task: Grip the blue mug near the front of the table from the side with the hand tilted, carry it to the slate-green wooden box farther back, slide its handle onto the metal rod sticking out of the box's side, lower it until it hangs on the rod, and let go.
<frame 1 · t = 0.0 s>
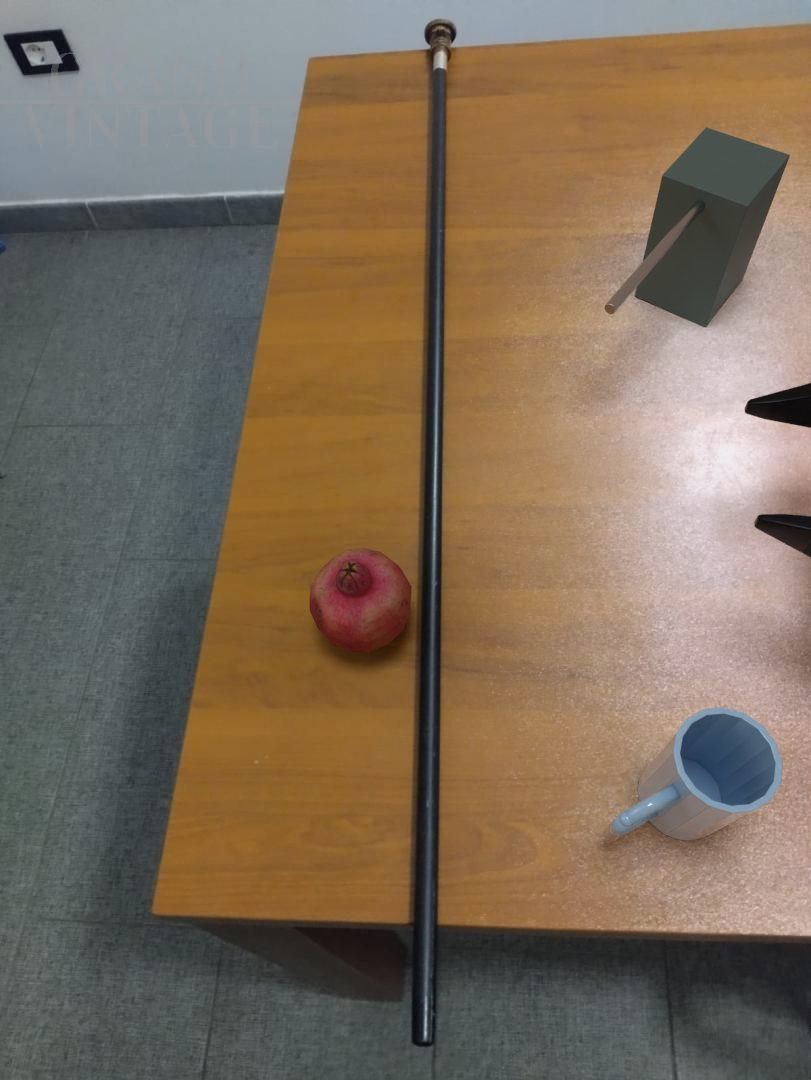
hand: (750, 461, 49), 15 cm above the table, tool horizontal, fingers open, 9 cm apart
blue mug: (680, 796, 54), on the table
box: (688, 288, 78), on the table
fruit: (368, 622, 63), on the table
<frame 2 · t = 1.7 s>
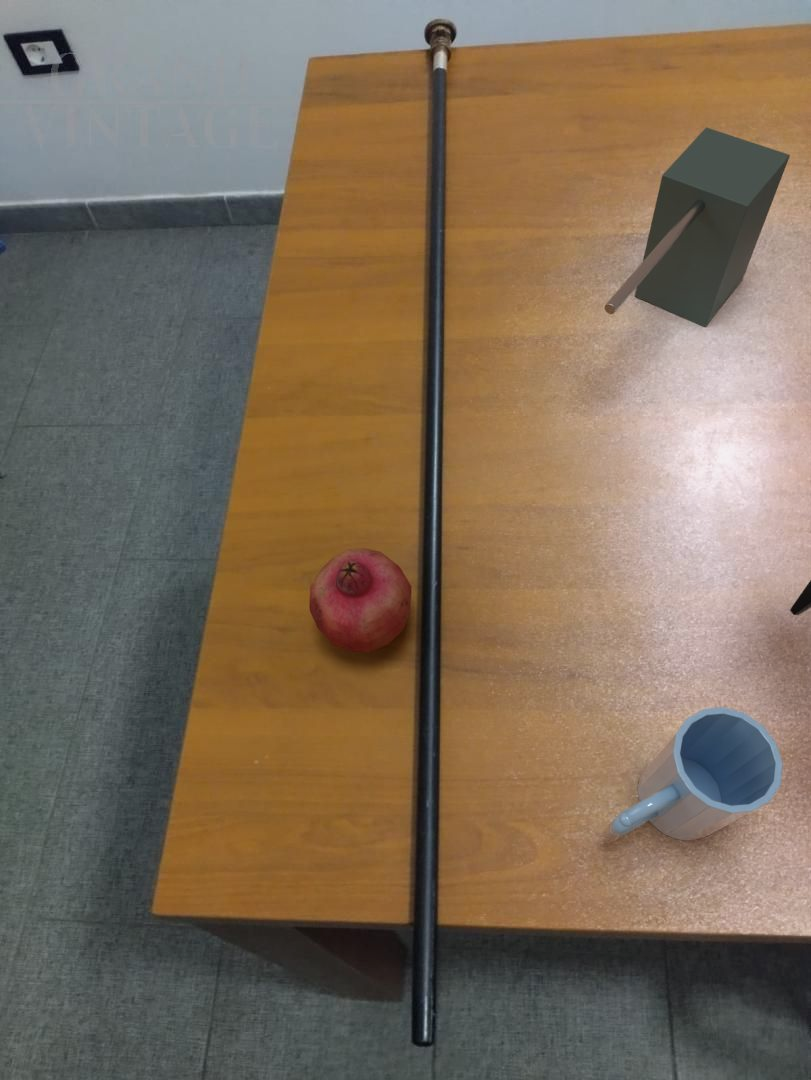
nothing on the table moved.
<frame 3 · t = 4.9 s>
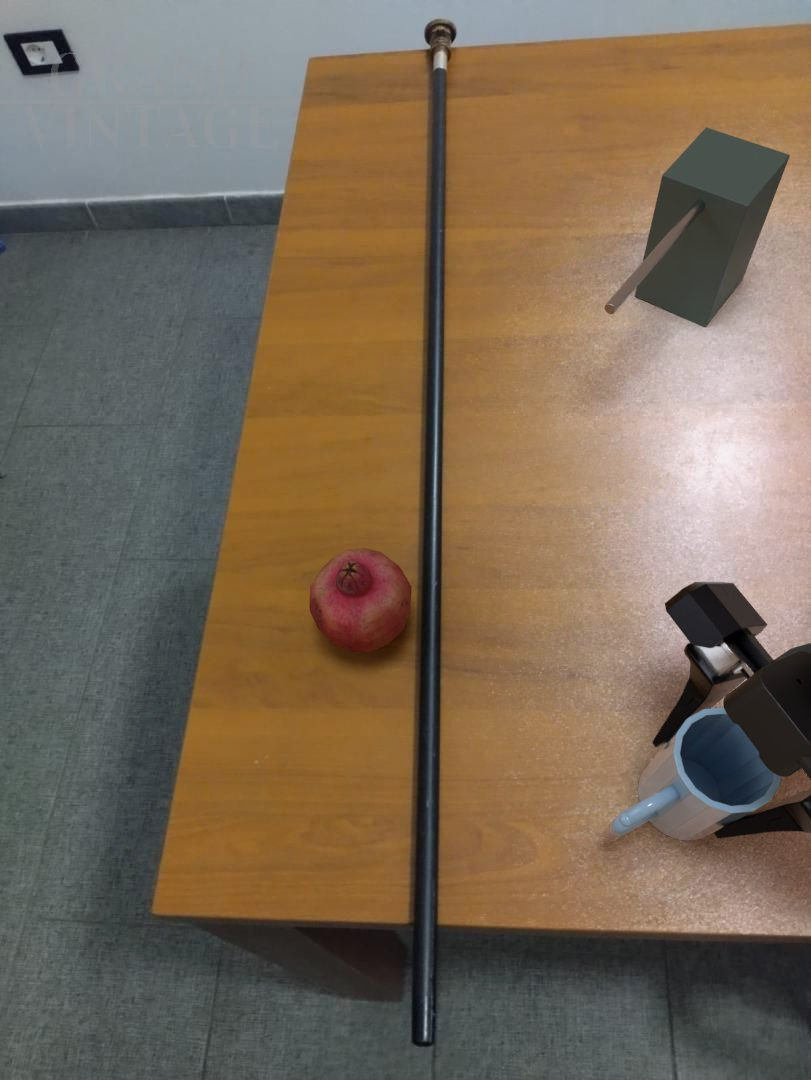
hand: (685, 787, 48), 7 cm above the table, tool tilted 45°, fingers closed on blue mug, 6 cm apart
blue mug: (680, 796, 54), on the table, touching gripper
everything else where it was.
when the fingers open (10 cm above the table, at t = 15.4 s): blue mug moves 11 cm and tips over, point 6 cm above the table.
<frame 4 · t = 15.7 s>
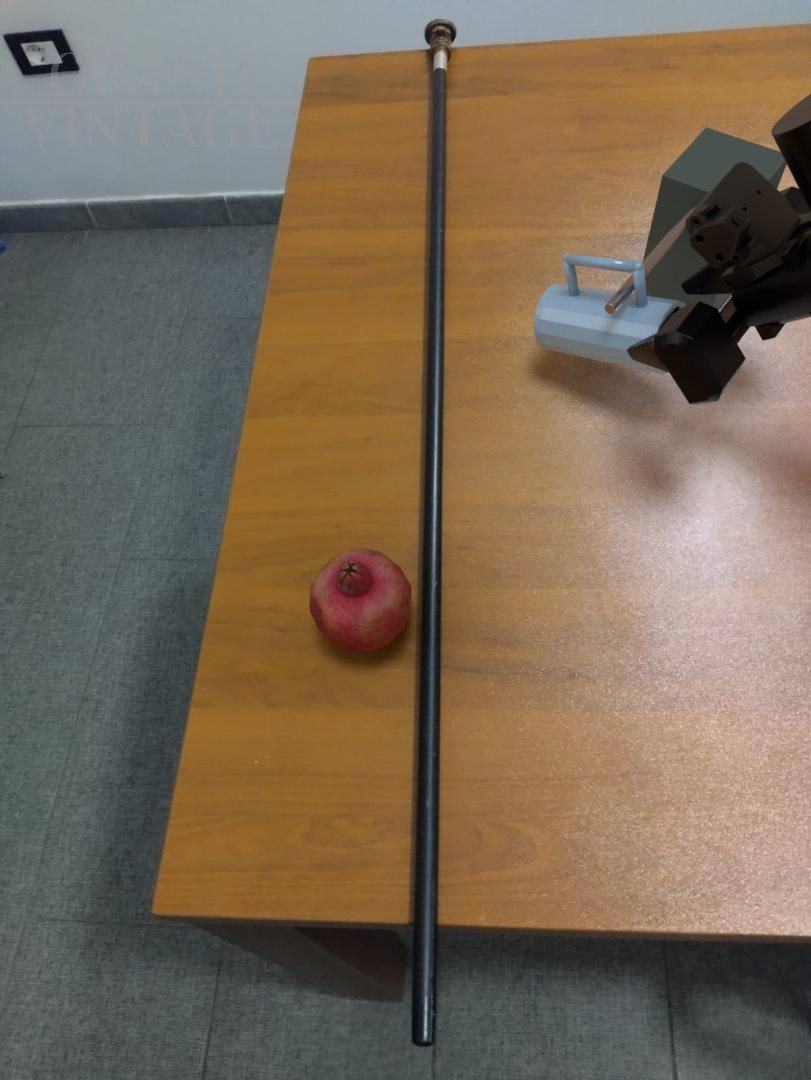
hand: (657, 320, 62), 10 cm above the table, tool tilted 45°, fingers open, 8 cm apart
blue mug: (552, 316, 70), point 6 cm above the table, tilted 72°
everything else where it was.
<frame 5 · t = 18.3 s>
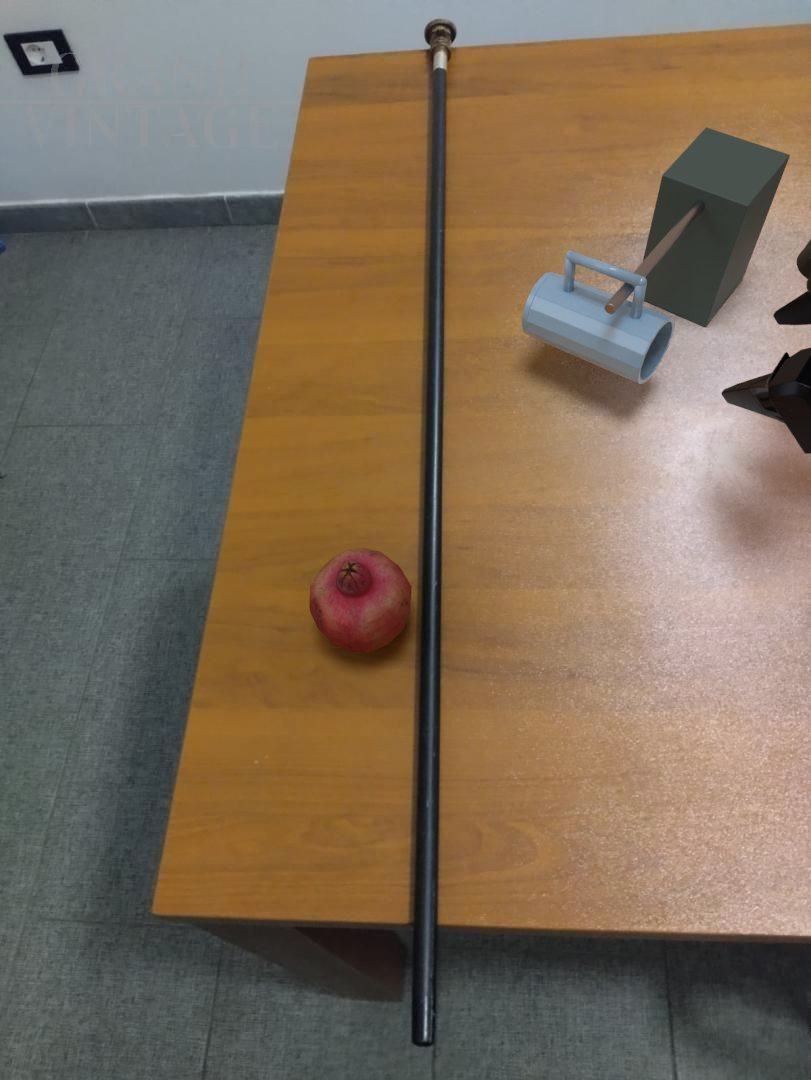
hand: (751, 356, 59), 11 cm above the table, tool tilted 45°, fingers open, 9 cm apart
blue mug: (539, 303, 70), point 6 cm above the table, tilted 87°, touching box
everything else where it was.
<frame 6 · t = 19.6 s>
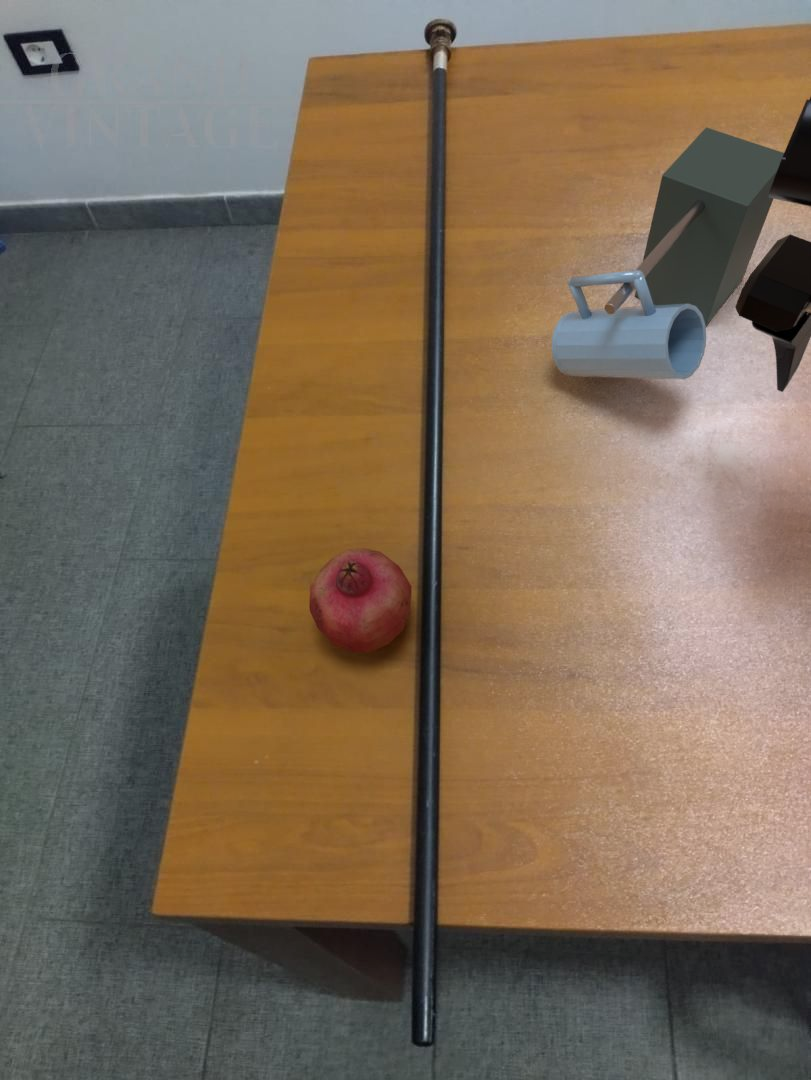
blue mug: (572, 343, 71), point 3 cm above the table, tilted 59°, touching box
everything else where it was.
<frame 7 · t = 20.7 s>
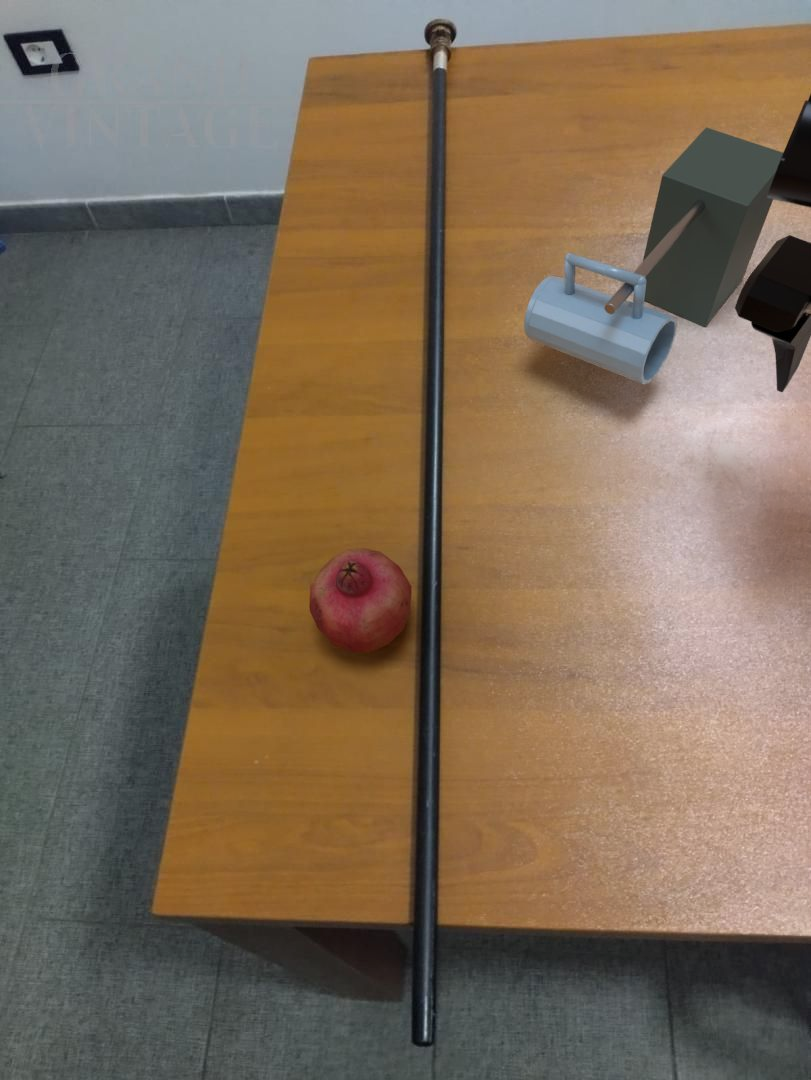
blue mug: (541, 307, 70), point 6 cm above the table, tilted 84°, touching box
everything else where it was.
at the end: blue mug touching box; blue mug inside the target area on the box (0.4 cm from its centre), point 2.6 cm above the box's base; the gripper is holding nothing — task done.
